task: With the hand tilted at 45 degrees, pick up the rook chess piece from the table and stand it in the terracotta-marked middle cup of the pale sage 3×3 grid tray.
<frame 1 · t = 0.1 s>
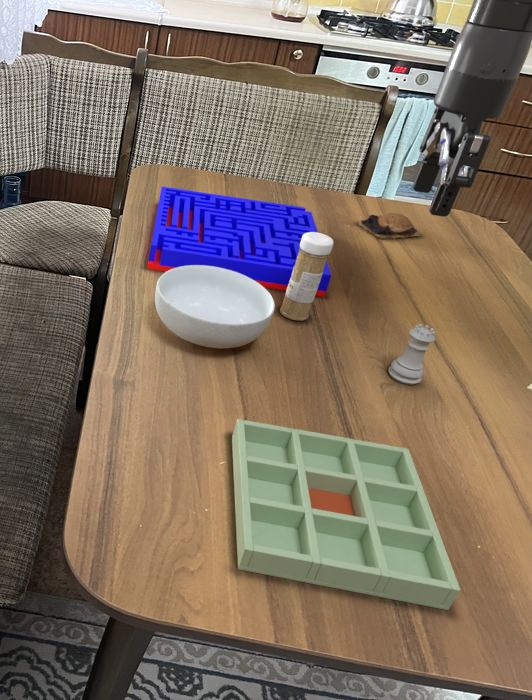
hand: (428, 202, 87), 24 cm above the table, tool pointing down, fingers open, 8 cm apart
cereal bowl: (205, 334, 102), on the table
sprinkles bottle: (293, 315, 109), on the table
grid: (326, 513, 73), on the table
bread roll: (388, 230, 142), on the table
maze: (232, 246, 128), on the table
rook chess piece: (403, 377, 97), on the table
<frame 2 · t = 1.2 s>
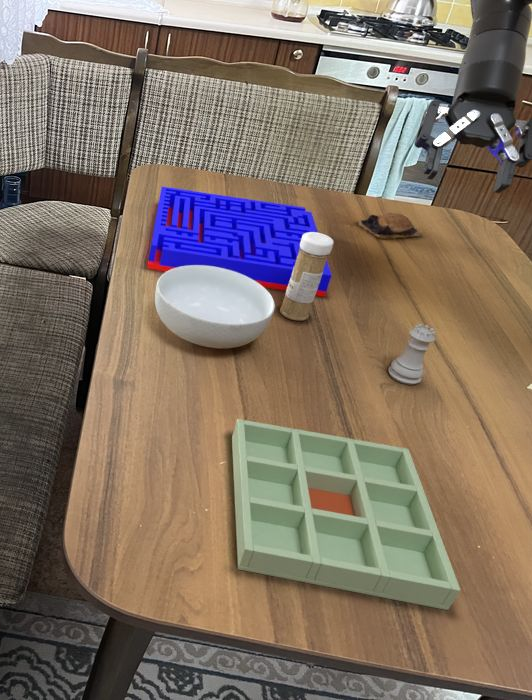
hand: (465, 183, 91), 25 cm above the table, tool tilted 45°, fingers open, 8 cm apart
nothing on the table moved.
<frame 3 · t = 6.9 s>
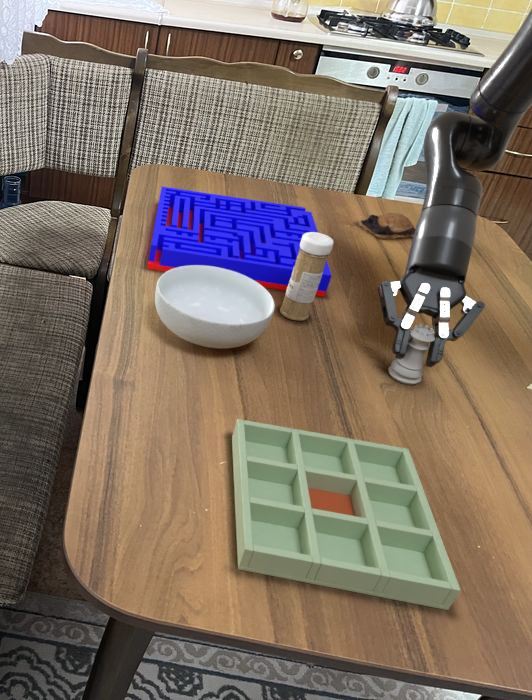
hand: (415, 361, 93), 4 cm above the table, tool tilted 45°, fingers closed on rook chess piece, 3 cm apart
rook chess piece: (403, 377, 97), on the table, touching gripper
everything else where it was.
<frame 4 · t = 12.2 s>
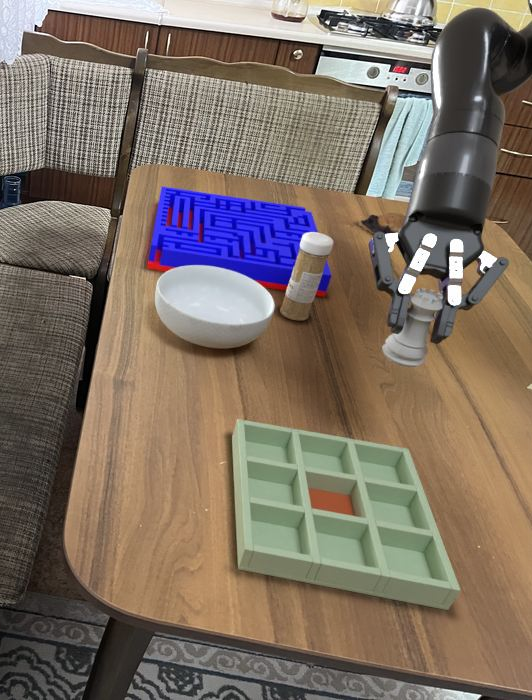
hand: (416, 336, 71), 18 cm above the table, tool tilted 45°, fingers closed on rook chess piece, 3 cm apart
rook chess piece: (401, 358, 75), point 14 cm above the table, touching gripper
everything else where it was.
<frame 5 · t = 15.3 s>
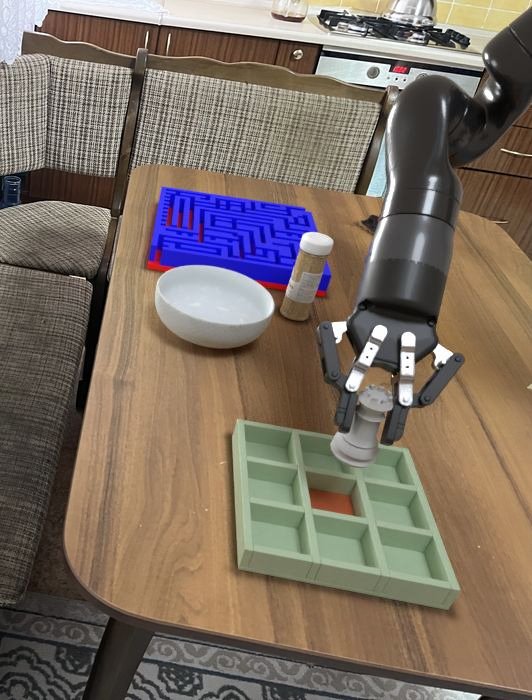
hand: (365, 437, 65), 12 cm above the table, tool tilted 45°, fingers closed on rook chess piece, 3 cm apart
rook chess piece: (350, 456, 69), point 8 cm above the table, touching gripper
everything else where it was.
when the fingers open (5 cm above the table, at t = 17.7 s): rook chess piece stays where it is, resting on grid.
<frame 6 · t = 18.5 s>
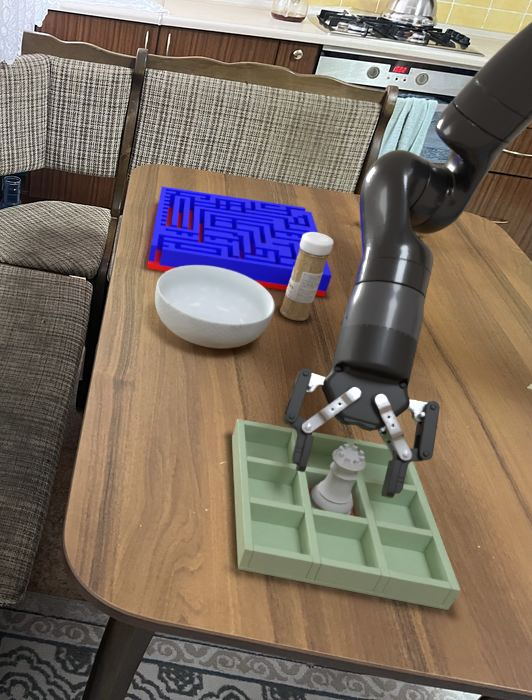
hand: (343, 483, 69), 6 cm above the table, tool tilted 45°, fingers open, 8 cm apart
rook chess piece: (327, 508, 73), point 1 cm above the table, touching grid
everything else where it was.
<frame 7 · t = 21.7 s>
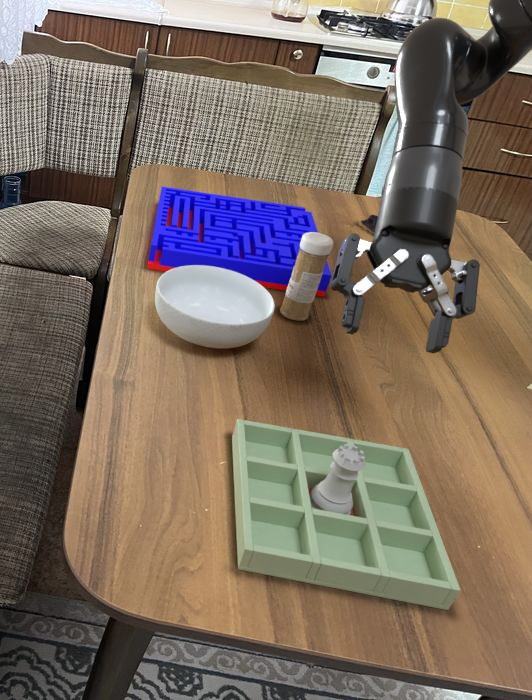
hand: (392, 342, 72), 16 cm above the table, tool tilted 45°, fingers open, 8 cm apart
nothing on the table moved.
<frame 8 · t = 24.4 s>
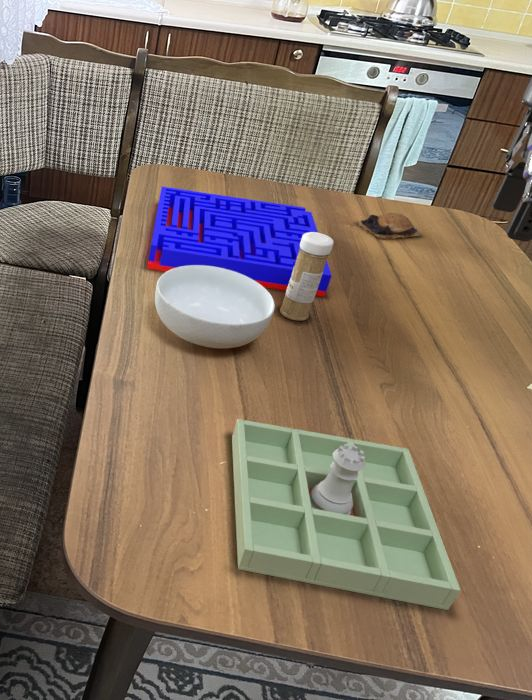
hand: (509, 223, 71), 28 cm above the table, tool pointing down, fingers open, 8 cm apart
nothing on the table moved.
at the end: rook chess piece 0.2 cm off-centre in the grid, point 0.5 cm above the grid's base; rook chess piece tilted 0°; the gripper is holding nothing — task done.
